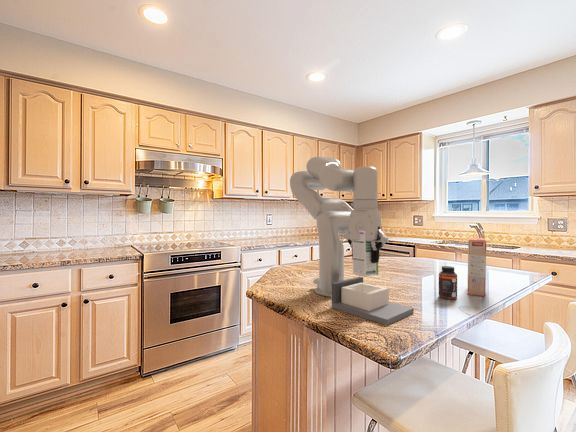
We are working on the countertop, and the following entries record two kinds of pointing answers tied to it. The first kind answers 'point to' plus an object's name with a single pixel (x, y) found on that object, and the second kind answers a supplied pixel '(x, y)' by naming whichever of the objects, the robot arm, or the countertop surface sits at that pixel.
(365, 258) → the syrup box
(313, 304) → the countertop surface
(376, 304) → the socket block
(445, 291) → the supplement bottle
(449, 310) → the countertop surface
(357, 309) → the slide base
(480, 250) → the cracker box
